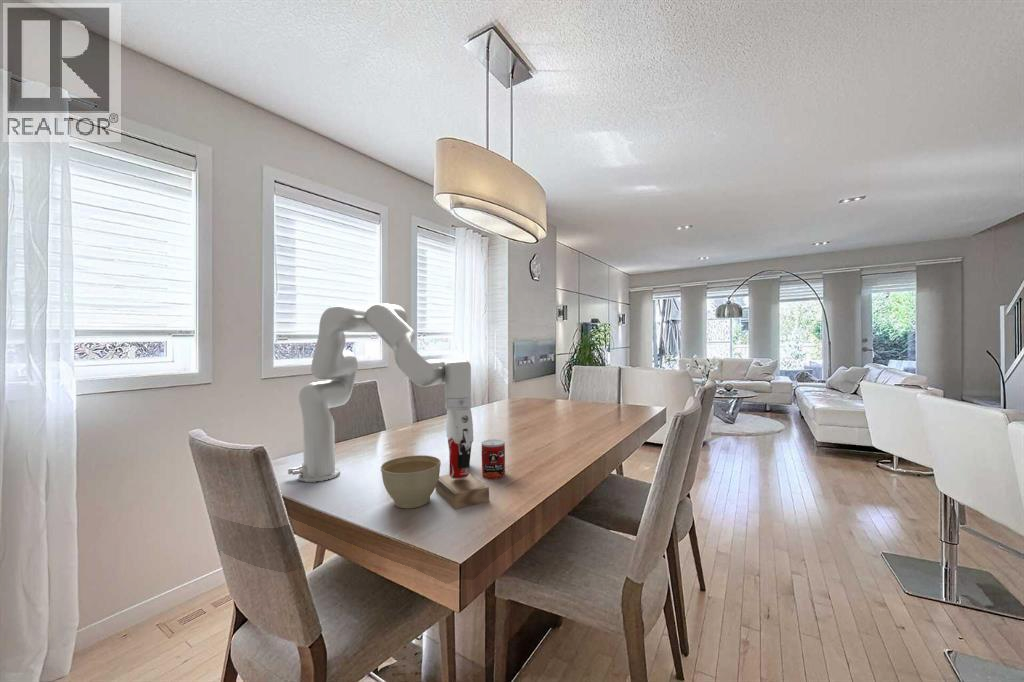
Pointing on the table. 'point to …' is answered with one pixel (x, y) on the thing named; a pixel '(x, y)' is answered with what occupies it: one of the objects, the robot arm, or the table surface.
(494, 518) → the table surface
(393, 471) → the planter bowl
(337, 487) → the table surface
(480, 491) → the wooden tray
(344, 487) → the table surface
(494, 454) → the canned food
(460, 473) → the soda can
